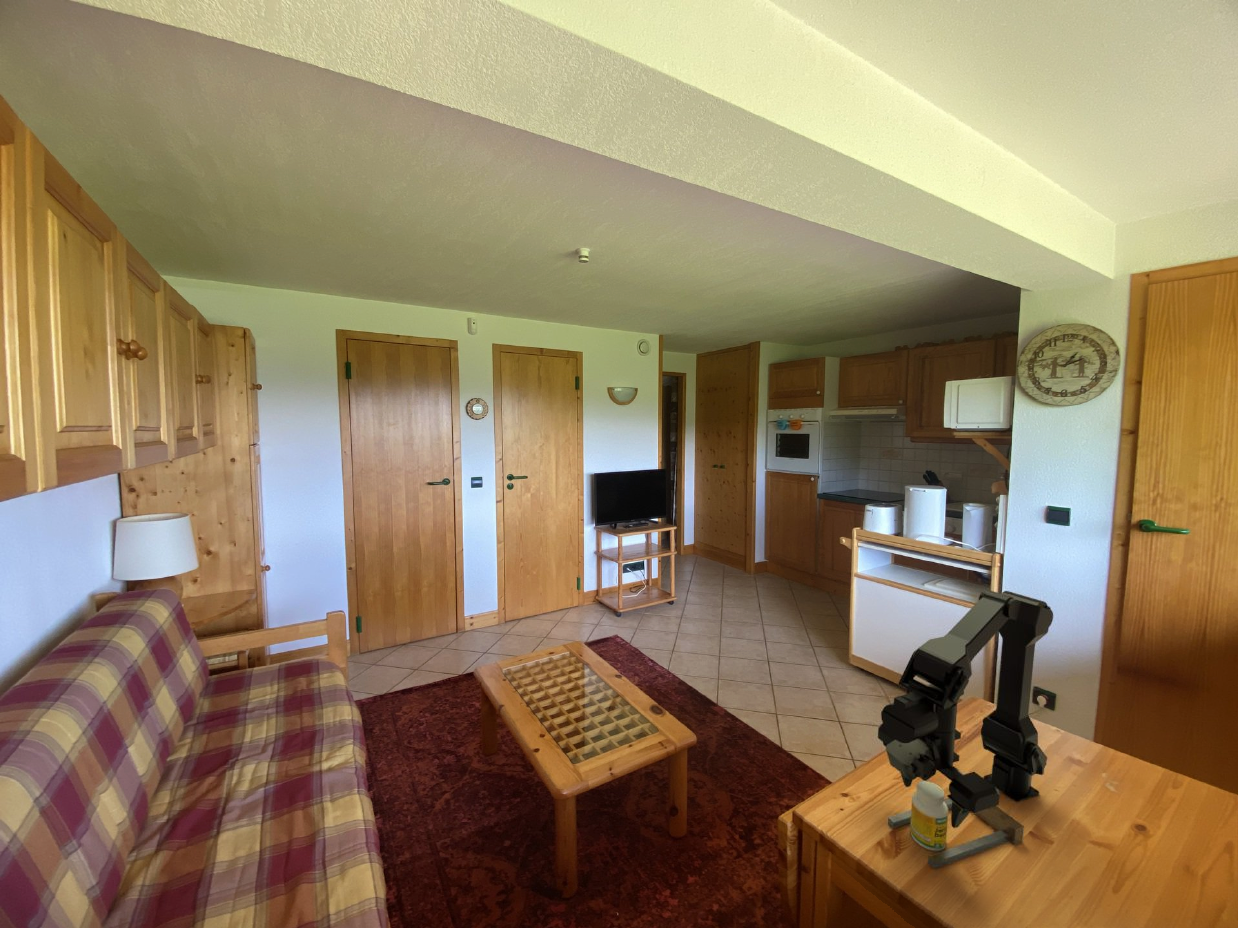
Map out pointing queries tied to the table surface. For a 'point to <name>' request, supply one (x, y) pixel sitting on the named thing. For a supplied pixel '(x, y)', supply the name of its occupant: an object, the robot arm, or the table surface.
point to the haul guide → (993, 817)
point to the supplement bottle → (929, 816)
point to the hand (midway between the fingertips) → (930, 805)
